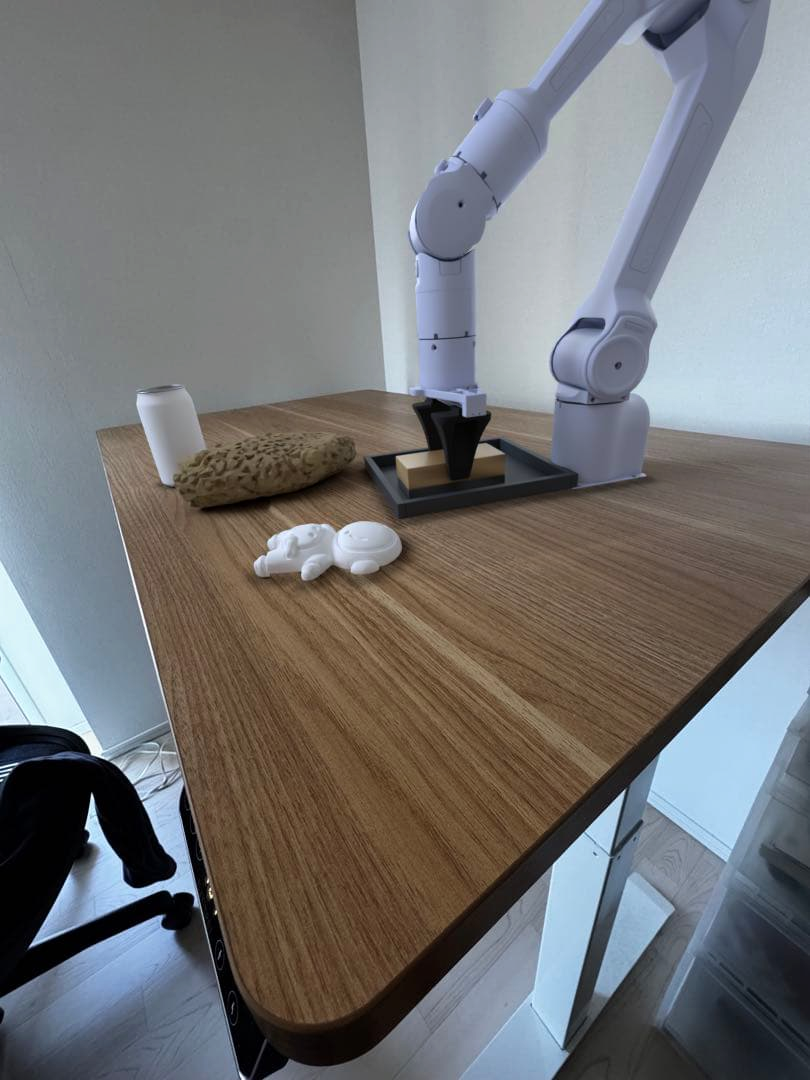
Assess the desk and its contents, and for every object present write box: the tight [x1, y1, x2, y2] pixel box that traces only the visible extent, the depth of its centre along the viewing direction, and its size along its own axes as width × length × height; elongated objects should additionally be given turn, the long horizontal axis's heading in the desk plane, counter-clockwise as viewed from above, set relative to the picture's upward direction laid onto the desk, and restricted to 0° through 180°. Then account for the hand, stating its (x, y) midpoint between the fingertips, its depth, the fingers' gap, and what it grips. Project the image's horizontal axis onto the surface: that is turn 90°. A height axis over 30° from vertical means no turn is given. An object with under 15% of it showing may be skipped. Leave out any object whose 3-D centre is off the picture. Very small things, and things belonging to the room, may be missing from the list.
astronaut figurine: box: [253, 520, 403, 582], centre depth 38 cm, size 9×12×3 cm
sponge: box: [173, 431, 357, 509], centre depth 53 cm, size 13×8×20 cm
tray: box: [363, 435, 578, 520], centre depth 53 cm, size 20×18×2 cm
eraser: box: [396, 443, 506, 499], centre depth 50 cm, size 11×5×4 cm, turn 105°
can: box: [135, 384, 207, 488], centre depth 58 cm, size 6×6×12 cm
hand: (450, 470), depth 50 cm, fingers closed on eraser, 5 cm apart
